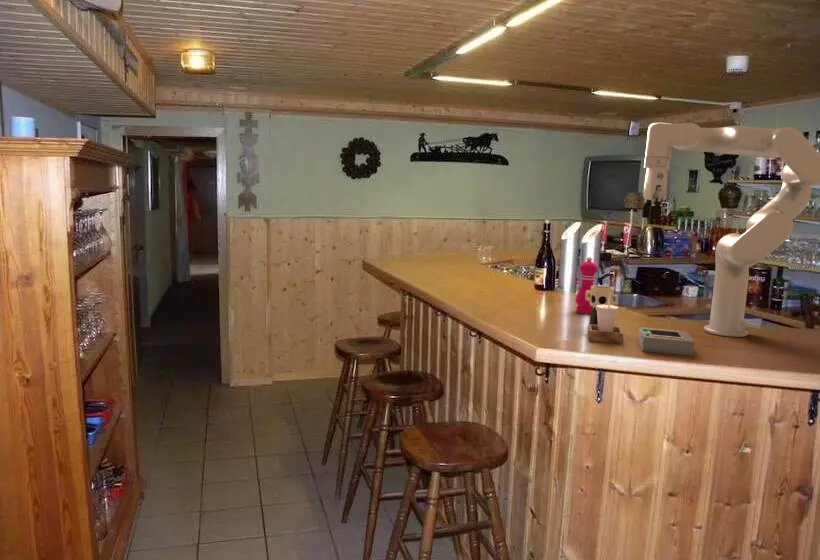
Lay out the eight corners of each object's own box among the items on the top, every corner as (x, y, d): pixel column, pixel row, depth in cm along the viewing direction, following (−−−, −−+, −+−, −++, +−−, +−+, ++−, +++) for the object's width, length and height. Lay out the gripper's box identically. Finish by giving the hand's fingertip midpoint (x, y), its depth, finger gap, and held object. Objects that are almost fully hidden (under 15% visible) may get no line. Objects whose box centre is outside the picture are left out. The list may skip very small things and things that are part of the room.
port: (684, 344, 184) (686, 329, 183) (692, 356, 171) (694, 339, 170) (637, 340, 187) (639, 325, 186) (642, 351, 174) (643, 335, 174)
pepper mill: (573, 313, 224) (577, 257, 221) (576, 309, 231) (580, 255, 228) (594, 315, 222) (599, 258, 218) (596, 311, 228) (601, 256, 225)
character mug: (578, 325, 204) (581, 286, 202) (587, 322, 209) (590, 283, 207) (611, 331, 197) (614, 290, 195) (619, 328, 202) (623, 288, 200)
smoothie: (604, 342, 183) (608, 294, 181) (588, 336, 189) (592, 290, 187) (620, 340, 186) (624, 293, 184) (604, 335, 192) (608, 289, 190)
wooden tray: (620, 336, 191) (620, 326, 191) (622, 343, 182) (623, 333, 182) (587, 333, 193) (588, 323, 193) (588, 340, 184) (589, 330, 184)
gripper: (677, 163, 188) (670, 220, 191) (662, 165, 205) (656, 217, 208) (651, 162, 189) (645, 219, 192) (638, 164, 206) (632, 216, 209)
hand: (650, 218), depth 200 cm, fingers open, 9 cm apart
